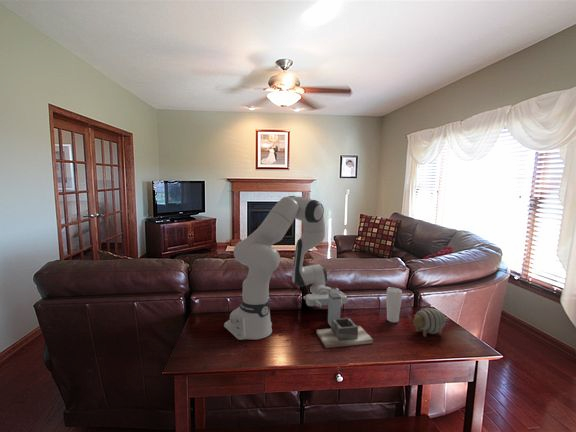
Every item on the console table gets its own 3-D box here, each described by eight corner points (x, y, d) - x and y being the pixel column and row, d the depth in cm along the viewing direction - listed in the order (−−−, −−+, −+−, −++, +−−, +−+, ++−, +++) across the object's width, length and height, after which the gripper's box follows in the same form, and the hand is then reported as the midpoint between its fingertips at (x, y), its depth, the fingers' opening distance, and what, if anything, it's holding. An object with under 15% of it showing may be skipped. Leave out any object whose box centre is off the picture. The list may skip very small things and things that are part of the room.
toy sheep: (405, 330, 130) (406, 305, 129) (436, 325, 135) (438, 302, 134) (422, 342, 120) (424, 316, 119) (455, 336, 125) (457, 311, 124)
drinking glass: (401, 319, 140) (403, 289, 139) (398, 325, 135) (400, 293, 133) (387, 316, 144) (388, 286, 142) (383, 321, 138) (385, 290, 137)
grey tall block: (327, 322, 136) (328, 293, 135) (335, 321, 137) (336, 292, 136) (331, 327, 131) (332, 297, 130) (339, 326, 132) (341, 296, 131)
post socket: (316, 332, 126) (317, 318, 126) (359, 328, 130) (360, 314, 130) (325, 348, 115) (326, 332, 114) (372, 343, 119) (373, 327, 118)
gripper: (302, 290, 148) (310, 300, 134) (340, 287, 152) (351, 297, 138) (302, 302, 148) (309, 313, 135) (340, 299, 153) (351, 310, 139)
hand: (331, 305), depth 137 cm, fingers open, 8 cm apart
